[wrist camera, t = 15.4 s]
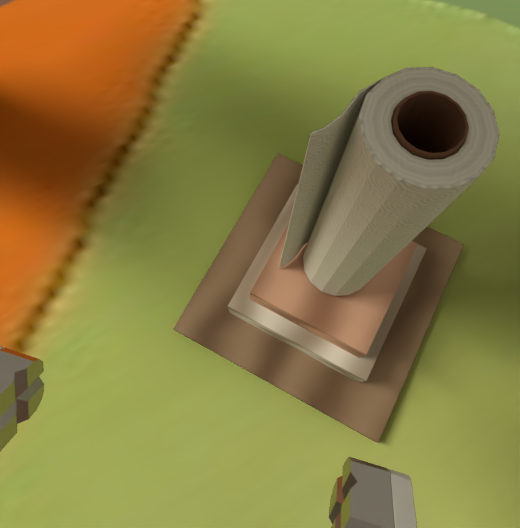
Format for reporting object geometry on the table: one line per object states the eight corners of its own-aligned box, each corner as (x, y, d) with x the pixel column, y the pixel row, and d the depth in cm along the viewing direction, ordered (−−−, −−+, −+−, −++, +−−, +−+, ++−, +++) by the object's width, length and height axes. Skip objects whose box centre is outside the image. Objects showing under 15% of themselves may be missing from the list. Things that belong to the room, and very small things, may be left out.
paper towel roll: (382, 252, 40) (524, 101, 20) (351, 310, 39) (469, 213, 18) (311, 213, 41) (375, 29, 20) (278, 268, 39) (310, 130, 19)
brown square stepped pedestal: (174, 330, 45) (161, 317, 38) (277, 157, 51) (282, 118, 44) (375, 441, 43) (400, 451, 36) (459, 247, 48) (496, 221, 41)
